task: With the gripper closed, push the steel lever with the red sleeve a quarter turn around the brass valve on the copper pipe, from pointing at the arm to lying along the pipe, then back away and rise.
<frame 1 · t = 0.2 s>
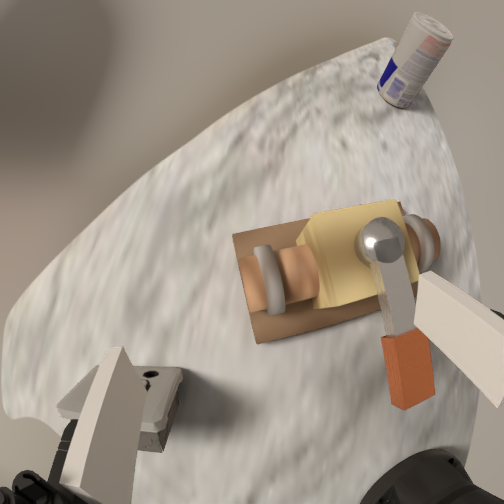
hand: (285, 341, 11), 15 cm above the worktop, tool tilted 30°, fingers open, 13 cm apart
valve lever: (398, 313, 16), point 10 cm above the worktop, hinge at 0.0°
electrical switch: (144, 391, 24), on the worktop
beverage can: (392, 96, 34), on the worktop
valve manifold: (333, 269, 27), on the worktop
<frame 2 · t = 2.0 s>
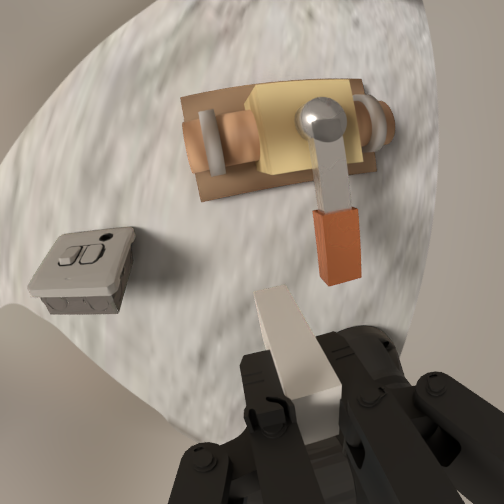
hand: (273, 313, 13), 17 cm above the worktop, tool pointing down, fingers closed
valve lever: (331, 191, 18), point 10 cm above the worktop, hinge at 0.0°
electrical switch: (102, 253, 28), on the worktop
valve manifold: (282, 133, 26), on the worktop
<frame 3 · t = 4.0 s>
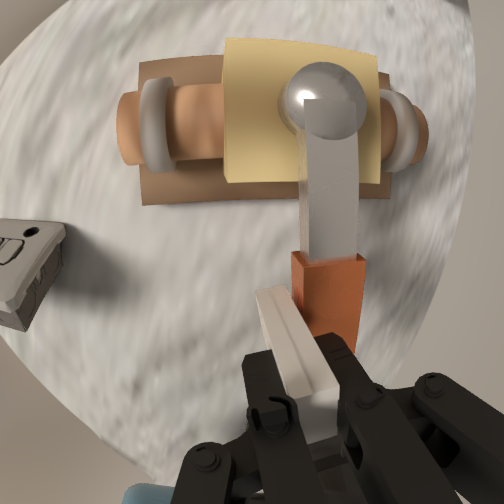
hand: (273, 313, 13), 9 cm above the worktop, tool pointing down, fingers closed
valve lever: (327, 224, 11), point 10 cm above the worktop, hinge at 2.9°, touching gripper
electrical switch: (32, 248, 20), on the worktop
valve manifold: (270, 127, 19), on the worktop
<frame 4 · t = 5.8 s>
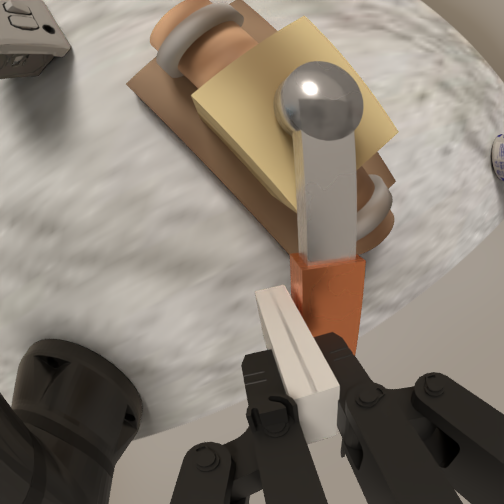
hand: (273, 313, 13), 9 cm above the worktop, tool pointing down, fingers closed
valve lever: (325, 225, 11), point 10 cm above the worktop, hinge at 53.2°, touching gripper
electrical switch: (36, 45, 14), on the worktop
beverage can: (499, 157, 22), on the worktop
valve manifold: (267, 127, 19), on the worktop
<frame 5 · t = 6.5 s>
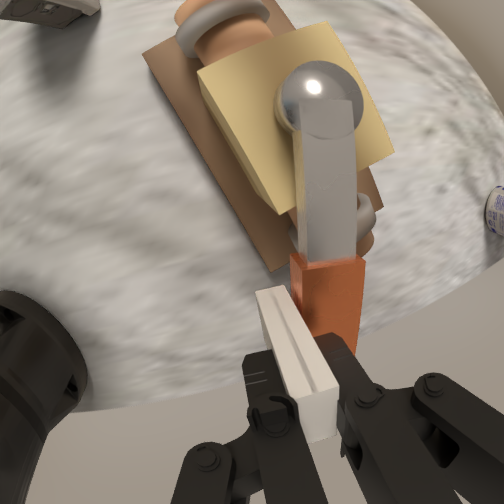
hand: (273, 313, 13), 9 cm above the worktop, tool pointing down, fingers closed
valve lever: (325, 225, 11), point 10 cm above the worktop, hinge at 66.0°, touching gripper
beverage can: (493, 207, 24), on the worktop
valve manifold: (267, 126, 19), on the worktop
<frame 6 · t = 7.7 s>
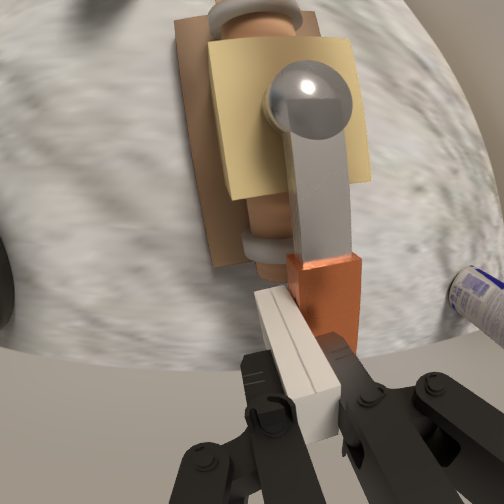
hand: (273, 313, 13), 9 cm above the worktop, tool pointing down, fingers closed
valve lever: (319, 225, 11), point 10 cm above the worktop, hinge at 89.0°, touching gripper
beverage can: (460, 285, 27), on the worktop
valve manifold: (261, 128, 19), on the worktop
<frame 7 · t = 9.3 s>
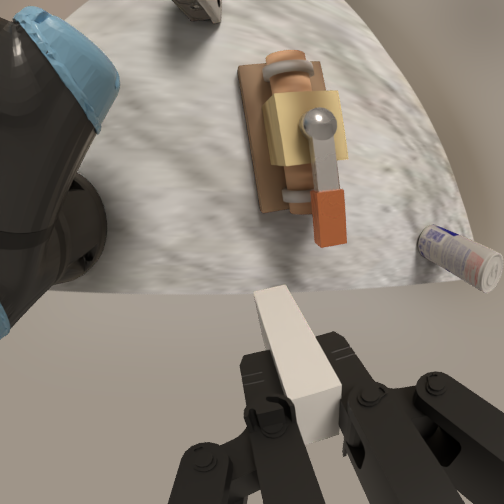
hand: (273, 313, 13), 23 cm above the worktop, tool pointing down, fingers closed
valve lever: (324, 176, 25), point 10 cm above the worktop, hinge at 89.0°
electrical switch: (201, 1, 26), on the worktop
beverage can: (427, 240, 40), on the worktop
valve manifold: (289, 133, 33), on the worktop
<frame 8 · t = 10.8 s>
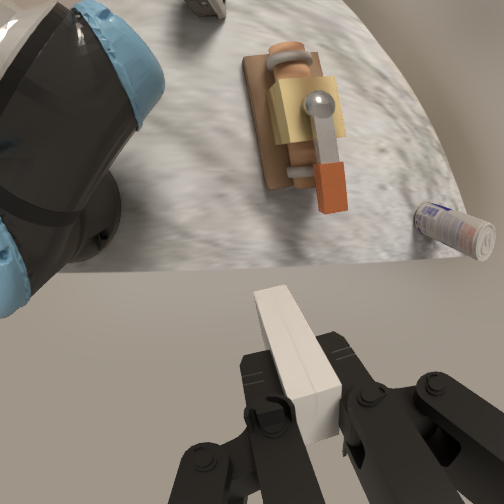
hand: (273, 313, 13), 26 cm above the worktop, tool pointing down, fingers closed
valve lever: (325, 150, 27), point 10 cm above the worktop, hinge at 89.0°
beverage can: (423, 217, 43), on the worktop
valve manifold: (290, 117, 35), on the worktop
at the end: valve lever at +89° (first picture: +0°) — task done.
